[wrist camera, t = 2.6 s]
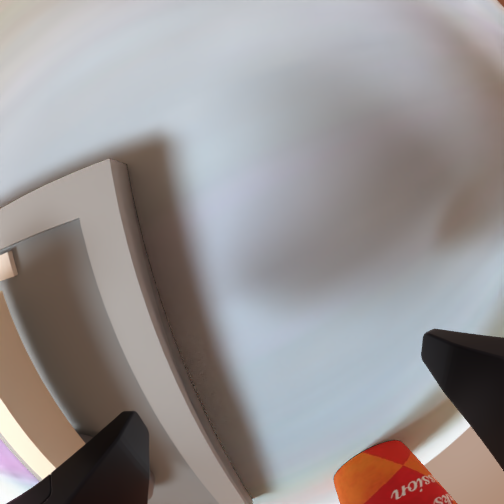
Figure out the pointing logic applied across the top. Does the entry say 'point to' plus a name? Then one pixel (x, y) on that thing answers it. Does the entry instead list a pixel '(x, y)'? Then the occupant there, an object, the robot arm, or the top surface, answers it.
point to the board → (107, 328)
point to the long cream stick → (33, 408)
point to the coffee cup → (388, 478)
